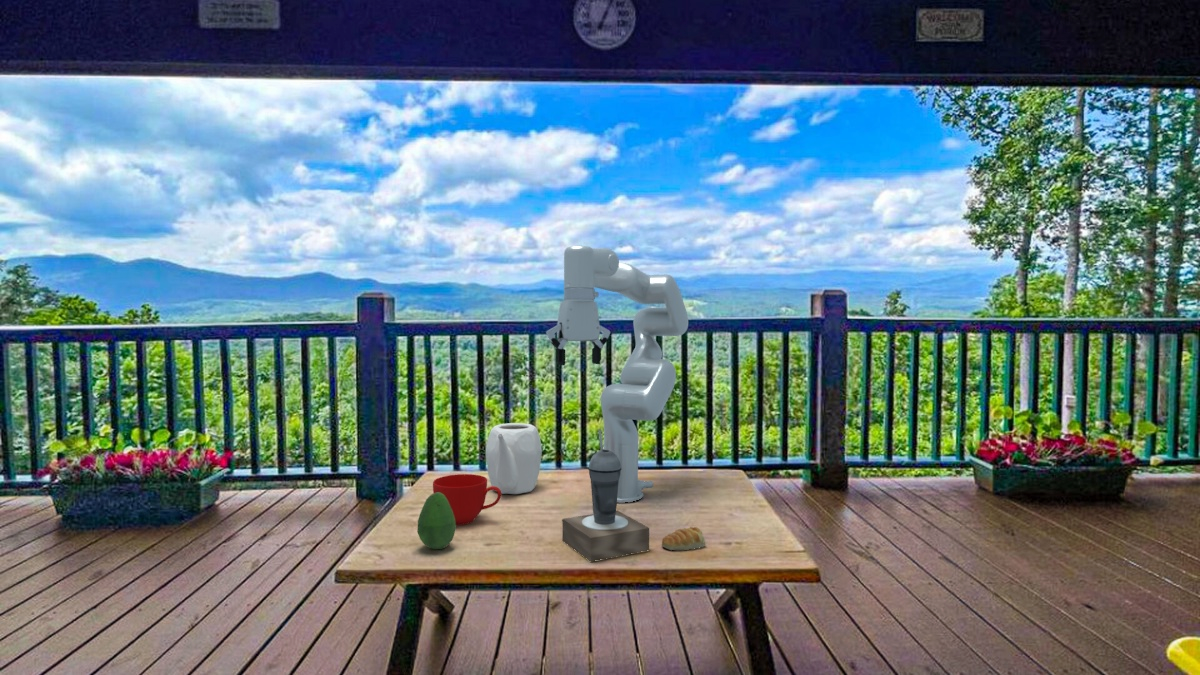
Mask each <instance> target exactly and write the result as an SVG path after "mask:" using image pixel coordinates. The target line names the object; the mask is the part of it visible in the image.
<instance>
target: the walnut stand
mask: <svg viewBox="0 0 1200 675" xmlns="http://www.w3.org/2000/svg"><path fill="white" fill-rule="evenodd" d="M561 524H562V528H561V529H562V532H561V533H562V534H561V535H562V537H561V538H562V542H563V543H564V542H565V543H564V544H566V545H567V544H568V545H569V548H571V547H572V548H573V550H574V549H575V550H576V551H577V552H576V551H575V550H574V551H575V552H576V553H578V552H579V553H580V554H581V555H583V556H584V557H585V558H587V559H588V560H589V561H595V560H600V559H606V558H611V557H616V556H621V557H623V556H622V555H626V554H631V553H637V552H641V551H647V550H649V551H650V527H649V526H646V524H643V523H641V522H639V521H638V520H636V519H634V518H632V517H631V516H629V515H627V514H625V513H623V512H621V511H619V509H618V510H617V509H616V515H615V522H614V523H612V524H606V525H605V524H597V523H595V522H594V514H593V513H592V514H586V515H585V514H584V515H579V516H571V517H565V518H562V523H561ZM568 545H567V546H568ZM572 548H571V549H572ZM647 552H648V551H647ZM579 553H578V554H579ZM580 554H579V555H580ZM637 554H638V553H637ZM581 555H580V556H581ZM583 556H582V557H583ZM584 557H583V558H584ZM585 558H584V559H585ZM616 558H617V557H616ZM587 559H586V560H587ZM611 559H612V558H611ZM588 560H587V561H588ZM606 560H607V559H606ZM589 561H588V562H589ZM600 561H601V560H600ZM595 562H596V561H595Z"/></svg>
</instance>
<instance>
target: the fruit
mask: <svg viewBox="0 0 1200 675" xmlns="http://www.w3.org/2000/svg"><path fill="white" fill-rule="evenodd" d="M456 529H457V525H456V523H455V517H454V514H453V511H452V509H451V507H450V504H449V502H448V500H447V498H446V497H445V495H444V494H442V493H440V492H436V493H431V494H430V495H429V496H428V497H427V498H426V499H425V502H424V504H423V506H422V509H421V510H420V513H419V516H418V519H417V531H416V532H417V535H418V537H419V539H420V541H421V542H422V544H424V546H426V547H428V548H430V549H433V550H442V549H444V548H447V546H449V544H451V542H452V541H453V539H454V536H455V534H456Z"/></svg>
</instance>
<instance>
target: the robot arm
mask: <svg viewBox="0 0 1200 675" xmlns="http://www.w3.org/2000/svg"><path fill="white" fill-rule="evenodd" d="M563 257H564V258H563V271H564V273H563V277H564V278H563V301H562V300H561V301H560V305H559V308H558V316H557V324H556V325H555V326H553V327H551V328H550V329H547V330H546V332H545V333H546V336H547V338H548V340H549V342H550V344H551V345H552V346H553V347H554V349H555V351H556V352H555V354H556V355H555V357H556V358H555V359H556V360H555V361H556V362H557V366H558V365H559V366H565V365H566V349H565V346H566V345H567V343H568V342H590V343H591V345H592V346H593V348H592V349H591V363H592V364H593V365H600V364H601V361H602V349H603V348H604V346H605V344H606V343H607V342H608V339H609V337H610V336H611V335H610V334H611V331H610V330H609V329H608V328H606V327H604V326H602V325H601V324H600V315H599V309H598V305H597V301H595V298H598V297H599V295H600V294H599V292H598V291H596V289H595V288H597V289H600V290H603V291H604V290H605V291H607V292H613V293H617V294H619V295H622V296H624V297H625V298H628V299H629V300H631V301H633V302H635V303H638V304H641V305H655V304H656V305H659V304H660V305H663V304H664V305H665V307H647V308H641V309H640V310H638V311H637V312H636V313H635V314H634V316H633V317H634V318H633V323H632V324H633V331H634V340H635V348H634V349H633V351H632V353H631V354H630V356H629V358H628V360H627V362H626V363H625V365H624V366H623V368H622V371H621V373H620V379H619V380H620V383H613V384H609V385H608V386H606V387H605V388H604V389H603V391H602V392H601V395H600V407H601V412H602V419H603V438H604V439H603V450H610V451H612V452H613V453H615V454H616V455H617V457H618V458H619V460H620V464H621V472H620V478H619V483H618V495H617V504H618V503H620V504H626V503H625V502H628V503H634V502H633V501H635V502H637V501H636V500H639V499H641V498H642V497H643V498H644V492H643V490H644V489H651V488H653V487H654V483H653V480H643V479H642V480H641V479H639V433H638V429H637V426H636V425H635V423H634V421H633V420H635V421H644V422H650V421H654V420H656V419H657V418H659V417H660V415H661V413H662V411H663V409H664V407H665V405H666V403H667V402H668V399H670V396H671V394H672V393H673V389H674V388H675V384H676V380H677V372H676V367H675V365H674V364H673V363H672V361H669V360H668V359H663V358H662V356H663V352H662V348H661V347H660V345H659V343H658V341H656V338H655V337H657V336H658V337H680V336H682V335H684V334H685V333H686V332H687V330H688V328H689V316H688V312H687V308H686V307H685V306H686V305H685V303H684V299H683V296H682V292H681V290H680V288H679V287H680V286H679V285H678V283H677V281H676V279H675V278H674V277H673V276H672V275H670V274H667V273H666V274H646V273H645V272H643V270H640V269H638V268H637V267H635V266H634V265H632V264H629V263H623V262H620V259H619V256H618V254H617V253H616V252H615V251H614V250H612V249H610V248H607V247H601V248H599V247H598V248H594V247H593V248H592V247H590V246H587V245H571V246H567V247H566V248H565V249H564V253H563ZM601 333H602V336H601V337H600V334H601ZM555 334H556V336H555ZM556 337H557V338H556ZM599 338H600V339H599ZM643 498H642V499H643ZM642 499H641V500H642ZM639 501H640V500H639Z"/></svg>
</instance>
